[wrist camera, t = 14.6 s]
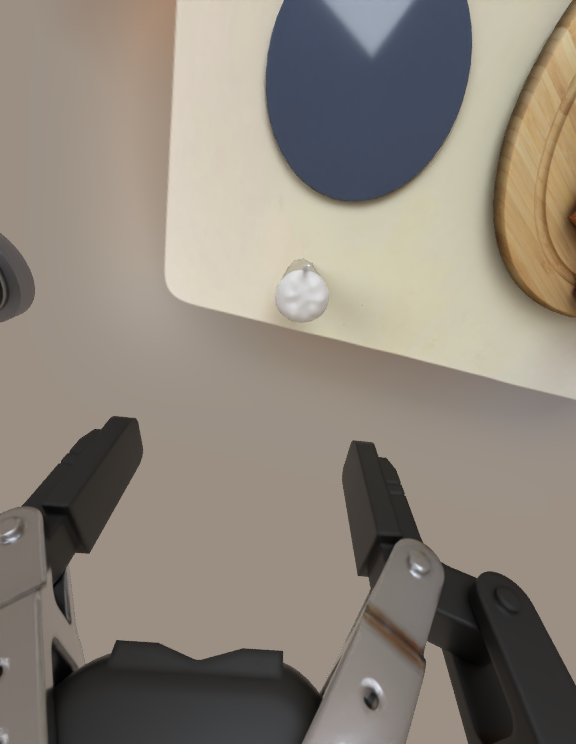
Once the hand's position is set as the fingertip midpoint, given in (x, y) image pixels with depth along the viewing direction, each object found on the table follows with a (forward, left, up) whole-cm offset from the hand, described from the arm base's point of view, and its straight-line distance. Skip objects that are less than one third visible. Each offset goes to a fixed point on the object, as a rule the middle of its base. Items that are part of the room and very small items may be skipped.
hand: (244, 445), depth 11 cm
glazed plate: (+5, +16, -25) cm, 30 cm away
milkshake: (+2, +1, -25) cm, 25 cm away
